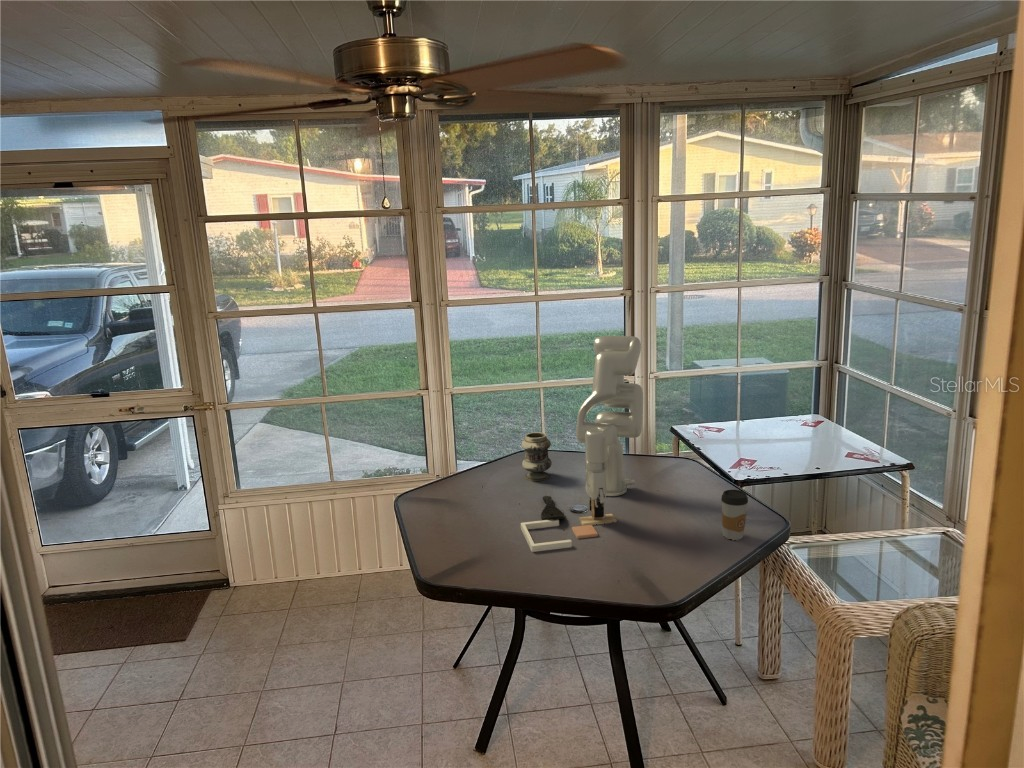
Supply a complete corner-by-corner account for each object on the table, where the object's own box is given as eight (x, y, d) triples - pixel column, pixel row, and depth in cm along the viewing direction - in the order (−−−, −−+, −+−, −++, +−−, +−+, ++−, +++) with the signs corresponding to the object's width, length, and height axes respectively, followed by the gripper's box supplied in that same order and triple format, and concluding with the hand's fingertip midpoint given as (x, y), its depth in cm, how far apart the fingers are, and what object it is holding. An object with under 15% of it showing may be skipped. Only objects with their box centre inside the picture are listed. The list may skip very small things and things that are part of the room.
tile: (591, 528, 242) (591, 524, 242) (597, 537, 236) (597, 533, 235) (572, 531, 241) (572, 527, 241) (577, 540, 234) (577, 535, 234)
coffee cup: (732, 544, 226) (734, 500, 223) (714, 534, 234) (715, 492, 230) (751, 538, 230) (754, 495, 226) (733, 528, 237) (734, 487, 234)
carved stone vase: (537, 469, 298) (536, 428, 294) (558, 476, 290) (557, 434, 285) (516, 476, 290) (515, 435, 286) (537, 484, 282) (535, 441, 278)
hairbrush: (556, 490, 268) (566, 513, 243) (556, 499, 268) (567, 523, 244) (534, 491, 267) (543, 515, 243) (535, 501, 268) (543, 525, 243)
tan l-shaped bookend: (579, 520, 248) (578, 498, 246) (611, 516, 250) (611, 495, 248) (583, 526, 243) (582, 504, 242) (616, 522, 246) (616, 500, 244)
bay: (557, 524, 246) (557, 518, 245) (571, 547, 228) (571, 541, 228) (520, 528, 243) (520, 522, 243) (531, 552, 226) (531, 546, 226)
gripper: (578, 457, 251) (579, 505, 255) (593, 474, 234) (593, 525, 239) (599, 455, 252) (599, 503, 256) (614, 472, 236) (614, 522, 240)
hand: (596, 513), depth 247 cm, fingers open, 5 cm apart
